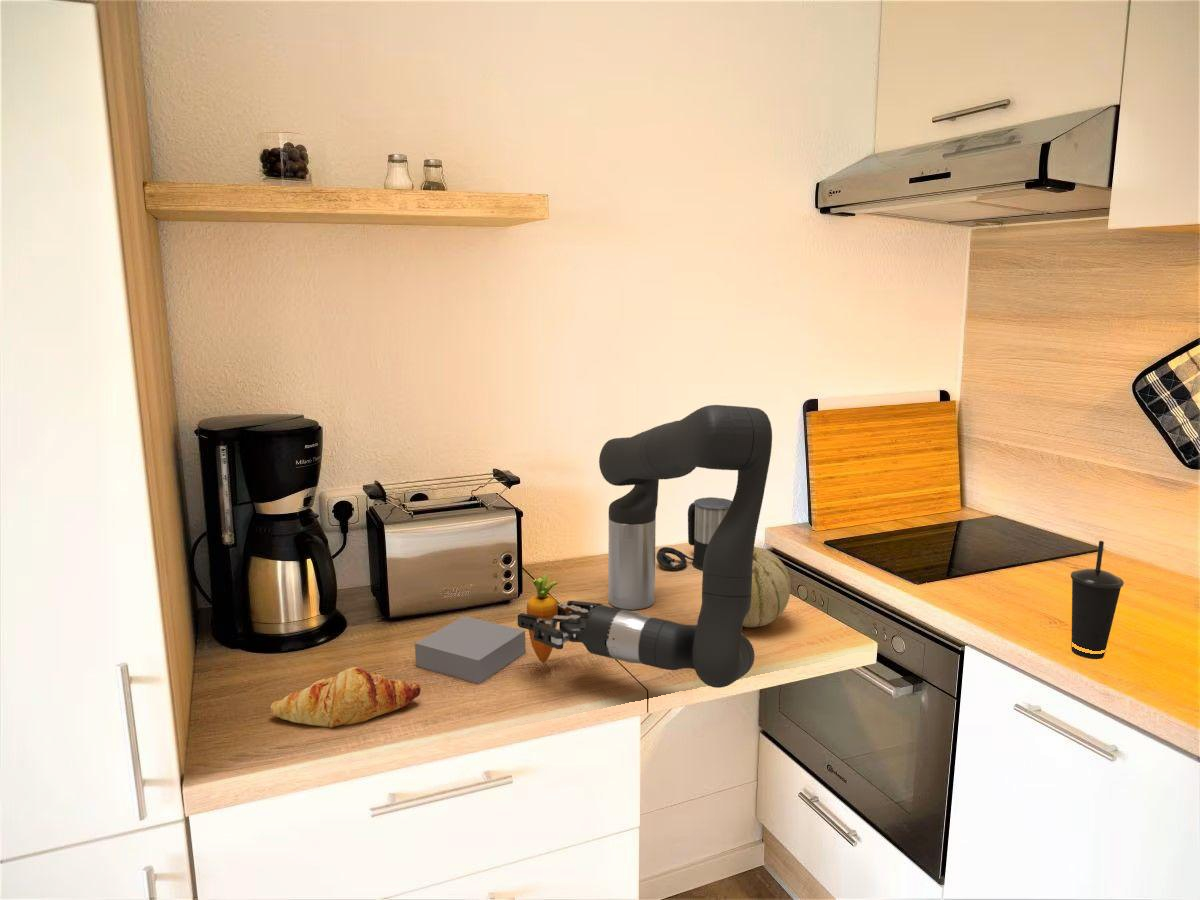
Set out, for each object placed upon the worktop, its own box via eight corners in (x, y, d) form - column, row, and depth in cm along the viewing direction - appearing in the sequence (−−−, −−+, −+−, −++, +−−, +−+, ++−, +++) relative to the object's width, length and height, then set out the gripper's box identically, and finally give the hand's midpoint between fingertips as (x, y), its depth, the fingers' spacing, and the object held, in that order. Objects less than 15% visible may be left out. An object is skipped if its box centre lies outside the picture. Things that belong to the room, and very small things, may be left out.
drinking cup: (1054, 651, 139) (1067, 540, 135) (1072, 639, 144) (1085, 532, 140) (1103, 667, 133) (1119, 551, 130) (1120, 654, 138) (1135, 542, 134)
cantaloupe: (769, 605, 159) (772, 532, 157) (803, 636, 145) (807, 556, 143) (698, 611, 156) (700, 537, 154) (725, 643, 142) (728, 562, 139)
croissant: (271, 753, 115) (261, 721, 110) (276, 692, 122) (267, 660, 117) (423, 730, 120) (421, 699, 115) (419, 674, 127) (417, 642, 122)
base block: (465, 637, 145) (464, 615, 144) (525, 652, 139) (525, 630, 138) (415, 665, 134) (414, 643, 133) (479, 684, 127) (478, 660, 127)
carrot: (542, 653, 135) (541, 568, 132) (564, 662, 132) (563, 574, 129) (521, 664, 131) (519, 576, 128) (544, 673, 128) (542, 583, 125)
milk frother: (741, 566, 183) (744, 502, 180) (696, 582, 172) (698, 515, 169) (693, 551, 193) (695, 491, 190) (647, 566, 182) (648, 502, 179)
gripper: (642, 595, 129) (551, 577, 137) (598, 628, 116) (501, 607, 124) (641, 639, 130) (552, 619, 138) (599, 677, 118) (503, 652, 126)
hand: (528, 613), depth 131 cm, fingers closed on carrot, 5 cm apart
